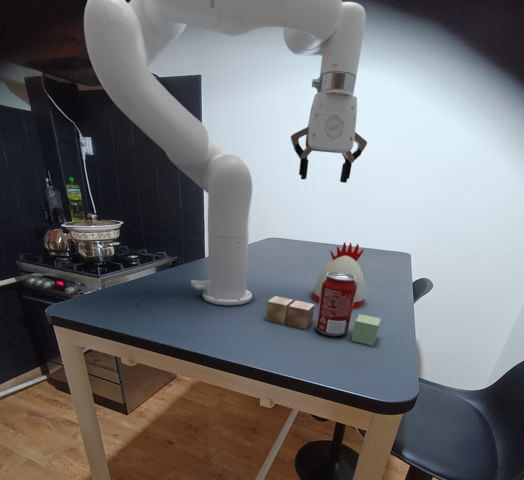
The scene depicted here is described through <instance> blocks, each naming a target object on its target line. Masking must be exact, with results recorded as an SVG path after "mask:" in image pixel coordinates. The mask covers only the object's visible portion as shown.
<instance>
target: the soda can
mask: <svg viewBox="0 0 524 480" xmlns="http://www.w3.org/2000/svg"><path fill="white" fill-rule="evenodd" d="M354 280H355V276H353V275H351V274H347V273H341V272H330V273H327V277H326V279H325V280H324V281H323V282H322V287H321V294H320V300H319V303H318V307H317V308H318V309H317V313H316V319H315V325H314V326H315V329H316V330H317V331H318V332H319V333H320V334H322V335H325V336H328V337H340V336H344V335H346V334H347V333H348V332H349V326H350V321H351V317H352V312H353V309H354V308H353V303H354V298H355V294H356V289H357V286H356V283H355V281H354Z"/></svg>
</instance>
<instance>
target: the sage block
mask: <svg viewBox="0 0 524 480" xmlns="http://www.w3.org/2000/svg"><path fill="white" fill-rule="evenodd" d="M381 321H382V318H381V317H376V316H371V315H366V314H362V313H359V314H358V316H357V317H356V319H355V321H354V326H353V330H352V335H351V339H350V341H352V342H355V343H359V344H363V345H367V346H371V347H374V345H375V343H376V341H377V337H378V333H379V329H380V325H381Z"/></svg>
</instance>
